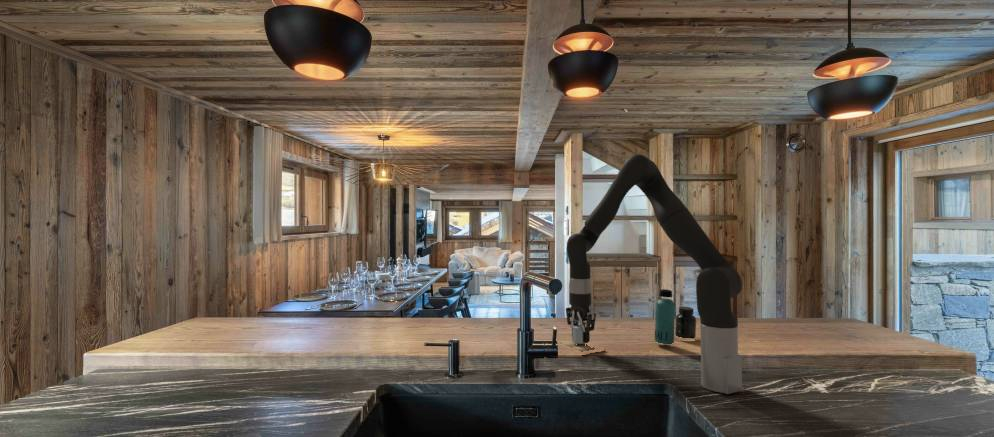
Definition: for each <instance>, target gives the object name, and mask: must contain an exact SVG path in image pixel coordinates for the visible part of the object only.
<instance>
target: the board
mask: <svg viewBox="0 0 994 437" xmlns="http://www.w3.org/2000/svg"><path fill="white" fill-rule="evenodd" d="M560 344H564V345H566V346H569V347H571V348H574V349H576V350H579V351H581V352H583V351H589V350H594V349H595V348H594V347H593V348H591V347H590V346H588V345H587V344H586V346H585V344H578V343H574V342H572V340H570V341H569V340H568V341H562V342H559V345H560ZM576 344H577V345H576Z"/></svg>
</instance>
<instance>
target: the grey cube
mask: <svg viewBox="0 0 994 437" xmlns="http://www.w3.org/2000/svg"><path fill="white" fill-rule="evenodd" d="M585 328H586V325H585ZM571 338H572V339H571V341H572V342H574V343H578V344H585V343H584V342H583V329H582V325H580V324H579V325H574V326H573V329H572V328H571Z"/></svg>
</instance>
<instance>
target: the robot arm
mask: <svg viewBox="0 0 994 437" xmlns="http://www.w3.org/2000/svg"><path fill="white" fill-rule="evenodd" d="M634 186H637V188H639V190H641V192H642V193H643V194H644V195H645V197H646V198H647V199H648V201H649V202H650V205H651V206H652V209H653V213H654V215H655V218H656V221H657V222H658V223H659V224H658V225H659V226H660V227H661V229H662V230H663V232H664V233H665V234H666V236H667V237H668V239H669V240H670V241H671V242H672V243H673V244H674V245H676V246H677V247H678V248H679V249H680V250H682V251H683V252H685V254H687V255H688V256H689V257H690V258H692V259H693V261H694V262H695V263H696V264H697V265H698V267H699V268H700V270H701V271H700V272H699V273H698V276H697V278H696V282H695V290H696V291H695V292H696V293H695V294H696V295H695V296H696V309H697V314H698V316H699V318H700V320H699V321H700V384H701V386H702V387H703V388H704V389H706V390H709V391H712V392H715V393H716V392H717V393H721V394H722V393H723V394H726V395H729V394H733V393H737V392H741V391H743V377H742V376H743V374H742V373H743V364H742V363H743V361H742V360H743V358H742V355H741V354H739V336H738V335H739V334H738V333H739V332H738V330H739V328H738V327H739V325H738V322H739V321H738V320H739V319H738V316H737V315H736V314H735V313H733V310H732V305H731V304H732V303H731V299H732V298H735V297H737V296H738V295H740V293H741V292H742V289H743V281H742V277H741V275H740V273H739V272H738V271H737V270H736V268H735V267H734V266H733V265H732V264H731V263H730V262H729V261H728V260H727V259H726V258H725V257H724V256H723V254H722V253H721V252H720V251H719V250H718V249H717V248H716V246H715V244H714V243H713V242H712V240H711V239H710V237H709V236H708V235H707V234H706V232H705V231H704V229H703V228H702V226H701V225H700V224H699V223H698V221H697V220H696V217H695V216H694V215H693V214H692V212H690V210H689V209H688V207H687V206H686V205H685V204H684V203H683V202H682V200H681V199H680V198H679V197H678V196H677V194H675V192H673V191H672V189H671V188H670V186H669V185H668V183H667V182H666V180H665V178H664V176H663V175H662V173H661V171H660V169H659V168H658V166H657V164H656V163H655V162H654V161H652V159H650V158H648V157H647V156H645V155H643V154H640V153H638V154H637V153H636V154H632V155H630V156H629V157H628V158H627V159H626V160H625V161H624V162H623V164H622V166H621V167H620V169H619V171H618V173H617V174H616V176H615V178H614V180H613V181H612V182H611V185H610V186H609V188H608V189H607V190H606V193H605V195H604V196H603V197H602V199H601V200H600V202H599V203H598V205H597V206H596V207H595V208H594V209H593V210H592V211H591V213H590V214H589V216H587V217H586V219H585V221H584V226H582V229H581V230H580V231H579V233H578V232H577V233H573V234H571V235H570V236H569V237H568V238H567V241H566V252H567V259H568V263H569V283H568V284H569V285H568V298H569V299H568V301H569V302H568V303H569V305H570V306H571V307H566V308H565V314H566V323H567V325H568V326H570V328H571V330H572V329H573V326H574V325H582V329H583V342H584V343H588V342H590V332H591V331H595V325H596V318H597V314H596V313H595V312H593V313H592V311H590V307H591V305H592V282H591V281H592V280H591V265H590V262H588V257H587V253H589V252H590V251H591V250H592V248H593V247H594V246H595V245H596V244H597V241H598V239H599V238H600V237H601V234H602V233H603V232H604V231H605V230H606V229H607V228H608V227H609V225H610V224H611V223H612V222H613V220H614V219H615V217H616V216H617V214H618V211H619V209H620V207H621V204H622V202H623V201H624V198H625V197H626V195H627V194H628V192H629V191H630V190H631V189H632V188H633V187H634ZM585 325H586V328H585Z"/></svg>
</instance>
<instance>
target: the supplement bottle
mask: <svg viewBox="0 0 994 437" xmlns="http://www.w3.org/2000/svg"><path fill="white" fill-rule="evenodd" d="M678 308H679V309H678V314H676V316H675V326H674V336H675V335H676V336H678V337H682V338H695V337H697V336H696V335H697V334H696V333H697V332H696V331H697V318H696V316H695V315H694V308H693V307H691V306H679V307H678ZM695 339H696V338H695Z"/></svg>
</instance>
